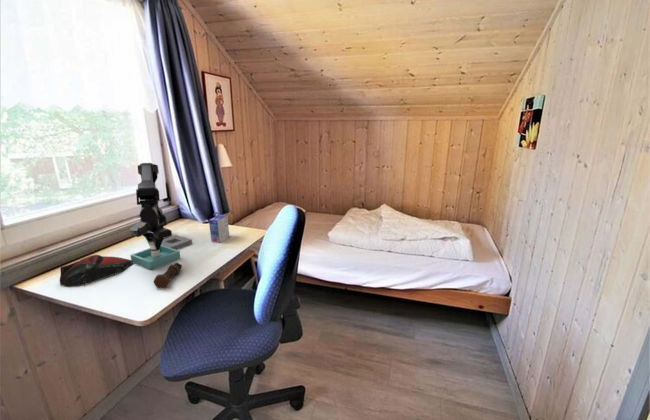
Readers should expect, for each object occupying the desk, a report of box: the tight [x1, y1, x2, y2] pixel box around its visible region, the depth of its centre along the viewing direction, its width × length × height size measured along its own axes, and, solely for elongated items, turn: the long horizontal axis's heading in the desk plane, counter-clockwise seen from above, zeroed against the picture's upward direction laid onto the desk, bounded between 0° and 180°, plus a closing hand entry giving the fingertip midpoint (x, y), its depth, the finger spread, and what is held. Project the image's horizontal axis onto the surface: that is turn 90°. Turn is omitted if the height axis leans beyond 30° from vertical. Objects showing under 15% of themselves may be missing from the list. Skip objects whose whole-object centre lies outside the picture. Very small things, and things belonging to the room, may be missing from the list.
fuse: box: [148, 240, 161, 258], centre depth 138 cm, size 4×4×7 cm
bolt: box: [153, 262, 183, 289], centre depth 124 cm, size 6×5×15 cm
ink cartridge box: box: [208, 211, 230, 244], centre depth 164 cm, size 10×6×14 cm, turn 167°
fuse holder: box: [161, 234, 193, 250], centre depth 156 cm, size 12×12×2 cm
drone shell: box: [59, 254, 133, 288], centre depth 126 cm, size 21×20×8 cm
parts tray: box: [129, 245, 182, 271], centre depth 139 cm, size 14×14×4 cm
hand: (154, 248), depth 138 cm, fingers closed on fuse, 4 cm apart
